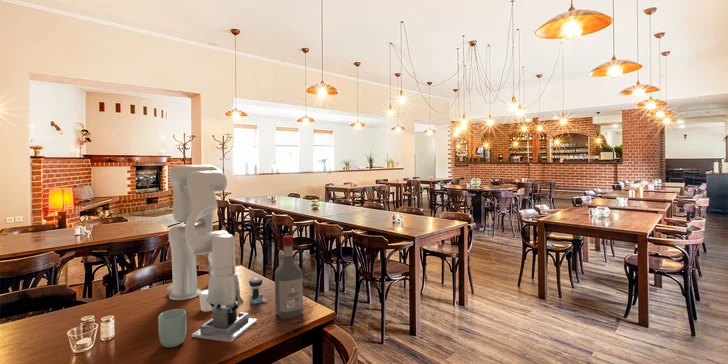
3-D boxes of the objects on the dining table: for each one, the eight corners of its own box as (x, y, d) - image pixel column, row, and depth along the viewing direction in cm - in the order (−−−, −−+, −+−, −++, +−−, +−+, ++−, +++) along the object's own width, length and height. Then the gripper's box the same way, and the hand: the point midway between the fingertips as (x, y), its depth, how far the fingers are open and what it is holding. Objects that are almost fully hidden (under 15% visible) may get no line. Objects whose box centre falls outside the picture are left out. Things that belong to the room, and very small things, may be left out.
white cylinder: (221, 306, 142) (221, 289, 141) (209, 313, 135) (208, 295, 135) (208, 304, 144) (207, 287, 144) (195, 310, 138) (194, 293, 137)
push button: (267, 299, 148) (266, 276, 148) (264, 304, 143) (263, 280, 142) (251, 300, 148) (250, 277, 147) (248, 305, 143) (247, 281, 142)
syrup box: (214, 279, 175) (213, 251, 175) (226, 280, 175) (225, 251, 174) (208, 283, 170) (207, 254, 169) (220, 283, 169) (219, 254, 168)
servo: (211, 328, 118) (210, 309, 117) (227, 317, 126) (227, 299, 126) (222, 329, 117) (222, 310, 116) (238, 318, 125) (238, 300, 125)
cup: (166, 339, 115) (165, 309, 115) (191, 337, 116) (189, 308, 115) (154, 351, 107) (153, 319, 107) (180, 350, 108) (179, 318, 108)
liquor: (305, 315, 132) (303, 236, 131) (281, 320, 128) (279, 239, 126) (296, 306, 140) (295, 233, 139) (274, 312, 135) (272, 235, 134)
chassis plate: (192, 337, 116) (191, 326, 116) (221, 317, 131) (220, 308, 131) (231, 342, 113) (230, 331, 112) (256, 321, 127) (256, 312, 127)
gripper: (195, 271, 119) (197, 324, 120) (238, 275, 115) (240, 329, 116) (210, 265, 126) (211, 315, 127) (251, 268, 122) (252, 319, 123)
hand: (225, 321), depth 122 cm, fingers closed on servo, 4 cm apart
